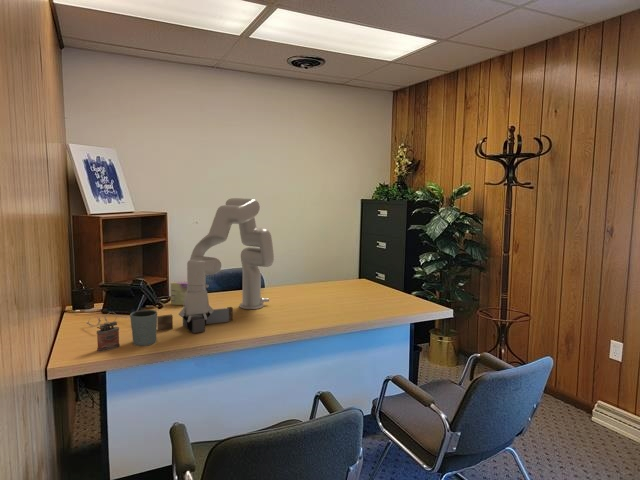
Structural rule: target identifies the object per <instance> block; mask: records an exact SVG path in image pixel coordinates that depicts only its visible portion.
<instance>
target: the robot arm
mask: <svg viewBox="0 0 640 480" xmlns="http://www.w3.org/2000/svg"><path fill="white" fill-rule="evenodd" d="M260 207H261V206H260V202H259V201H258V200H257V199H254V198H241V197H240V198H239V197H233V198H231V197H230V198H228V199H227V200H226V201H225V204H224V205H220V206H219V207H218V208H217V210H216V212H215V215H214V218H213V220H212V223H211V226H210V229H209V232H208V233H207V234H206V235H205V236H203V238H201V240H199V241H198V243H196V245H195V246H194V248H193V249H192V252H191V255H190V259H189V260H187V263H186V266H187V268H186V273H187V274H186V276H187V277H186V280H187V281H186V282H187V291H185V296H184V305H183V306H182V307H183V308H182V309H181V310H180V311H179V313H178V316H179V317H180V318H182V319H183V318H184V319H185V320H186V321H187V328H186V329H187V330H188V331H189V332H191V330H192V327H191V317H192V315H197V314H202V316H203V318H204V319H205V327H207V324H206V320H207V318H208V317H209V316H210V314H211V313H212V312H213V311H214V310H213V309H214V308H212V307H211V305H210V302H209V295H208V290H207V288H210V287H209V284H207V283H206V276H208V275H215V274H218V273H219V272H220V271H221V269H222V262H221V261H220V259H219V258H216V257H211V256H205V254H206V253H207V251H208V250H209V249H211V248H212V247H215V246H217V245H220V244H221V243H224V242H226V241H227V239H228V237H229V234H230V231H231V227H232V225H233V224H234V225H235V224H236V225H238V226H239V227H238V228H239V235H240V239H241V243H242V244H243V246H247V247H245V248H243V249H242V250H241V251H240V262H241V268H242V292H241V293H242V294H241V295H242V298H241V299H242V300H241V301H242V302H241V303H239V308H241V309H245V310H259V309H262V308H264V303H267V302H268V303H269V302H270V298H269V297H267V298H266V297H261V294H262V293H261V289H262V287H261V285H262V274H261V273H262V272H261V270H260V268H259V267H262V268H269V267H271V266H272V265H273V263H274V260H275V259H274V257H275V256H274V255H275V254H274V247H273V238H272V234H271V232H270V230H268V229H266V228H262V227H261V228H260V227H259V228H258V227H257V223H256V219H255V217H257V215H258V214H259V212H260ZM184 313H186V315H187V317H186V316H185V315H184Z"/></svg>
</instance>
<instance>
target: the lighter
mask: <svg viewBox="0 0 640 480" xmlns="http://www.w3.org/2000/svg"><path fill="white" fill-rule="evenodd" d="M117 325H118V322H117V321H114V322H113V321H111V322H110V323H108V322H104V324H99V328H100V329H99V330H96V334H97V339H96V341H97V348H96V350H97V352H105V351H110V350H111V351H112V350H113V349H116V348H117V349H118V348H120V346H121V345H120V332H119V331H120V326H117Z"/></svg>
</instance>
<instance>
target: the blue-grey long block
mask: <svg viewBox="0 0 640 480" xmlns="http://www.w3.org/2000/svg"><path fill="white" fill-rule="evenodd" d="M212 309H213V310H214V311H213V312H212V313H211V314H210V316H209V317H208V318H207V320H206V325H207V324H218V323H228V322H229V309H228V308H215V309H214V308H212ZM184 315H186V313H184ZM198 315H199V316H201V317H203V316H202V314H198ZM182 327H186V325H185V319H184V318H182Z"/></svg>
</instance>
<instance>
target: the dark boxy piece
mask: <svg viewBox="0 0 640 480" xmlns="http://www.w3.org/2000/svg"><path fill="white" fill-rule="evenodd" d="M185 316H186V317H187V315H185ZM185 325H186V326H185V328H186V329H187V321H186V320H185ZM191 327H192V330H191V331H190V332H191V333H192V334H197V333H203V332H205V331H206V326H205V319H204V318H203V317H201V316H199V315H198V314H197V315H192V317H191Z"/></svg>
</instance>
